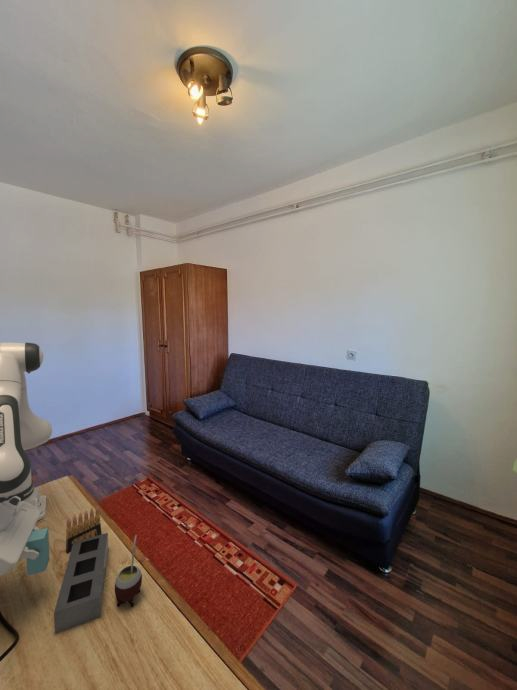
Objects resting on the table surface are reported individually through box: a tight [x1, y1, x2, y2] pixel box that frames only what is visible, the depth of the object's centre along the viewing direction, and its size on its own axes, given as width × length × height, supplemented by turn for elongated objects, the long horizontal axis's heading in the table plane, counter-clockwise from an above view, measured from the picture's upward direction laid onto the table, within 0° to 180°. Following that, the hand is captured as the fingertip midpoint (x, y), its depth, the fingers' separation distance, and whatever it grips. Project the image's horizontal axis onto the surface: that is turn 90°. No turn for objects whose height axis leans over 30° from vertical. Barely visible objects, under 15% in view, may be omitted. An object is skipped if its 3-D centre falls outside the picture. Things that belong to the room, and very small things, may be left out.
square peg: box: [25, 527, 50, 577], centre depth 77 cm, size 4×4×10 cm
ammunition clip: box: [65, 505, 102, 554], centre depth 97 cm, size 11×2×12 cm, turn 137°
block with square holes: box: [53, 532, 109, 635], centre depth 82 cm, size 24×10×6 cm, turn 24°
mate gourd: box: [114, 534, 143, 609], centre depth 78 cm, size 8×8×15 cm
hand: (40, 547), depth 77 cm, fingers closed on square peg, 4 cm apart
